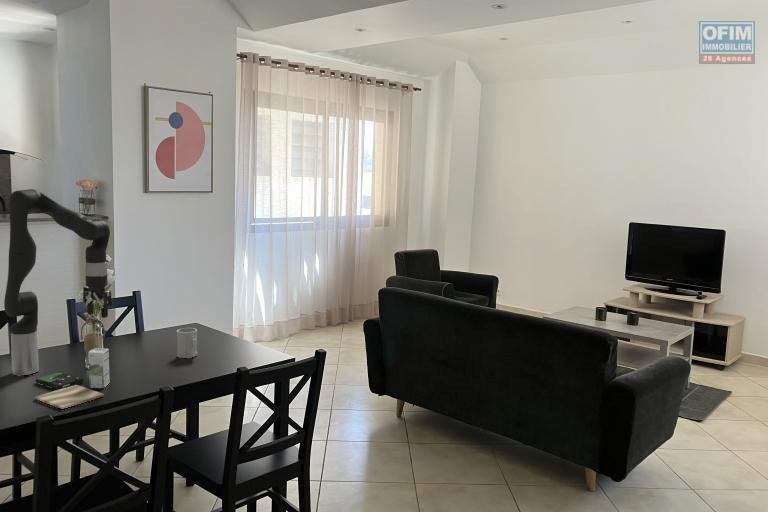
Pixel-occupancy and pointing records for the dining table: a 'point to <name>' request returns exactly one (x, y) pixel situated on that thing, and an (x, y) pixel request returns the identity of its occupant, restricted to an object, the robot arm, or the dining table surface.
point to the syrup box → (98, 368)
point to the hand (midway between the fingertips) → (97, 315)
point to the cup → (187, 342)
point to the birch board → (69, 396)
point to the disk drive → (59, 380)
